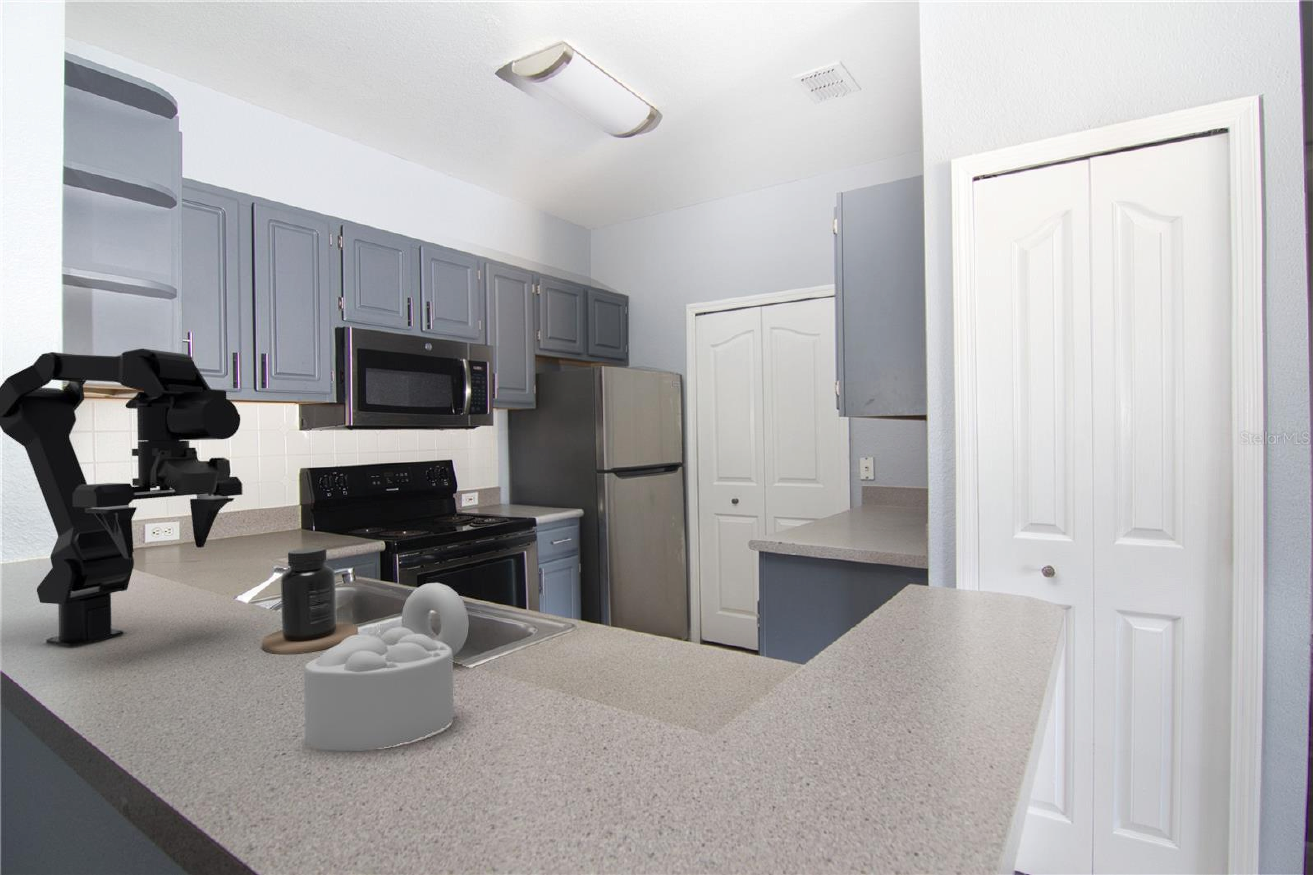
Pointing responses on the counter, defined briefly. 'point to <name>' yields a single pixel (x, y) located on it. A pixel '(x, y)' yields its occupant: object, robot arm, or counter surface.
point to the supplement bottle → (308, 596)
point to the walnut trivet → (307, 641)
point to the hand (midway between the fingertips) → (165, 552)
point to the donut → (447, 610)
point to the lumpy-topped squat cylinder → (378, 691)
